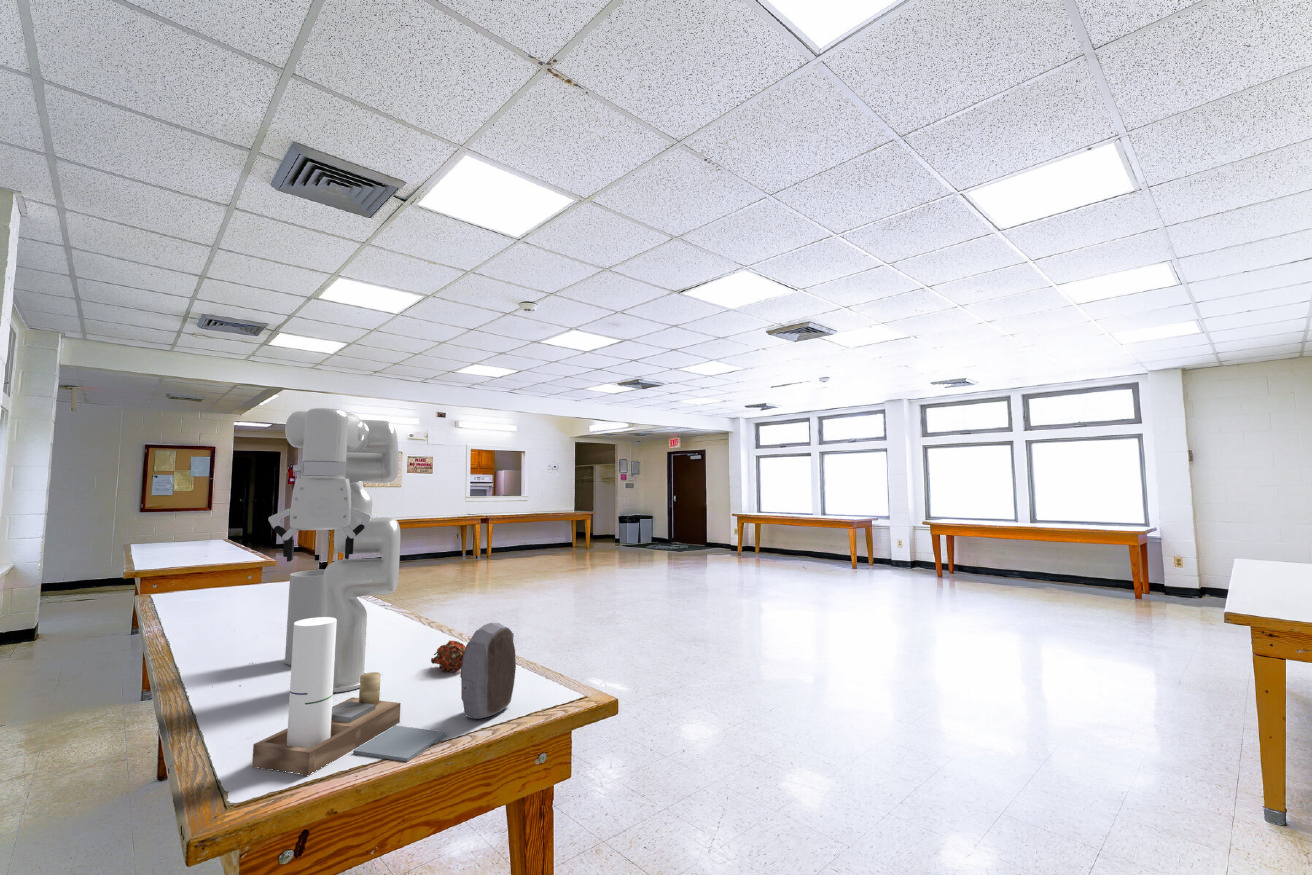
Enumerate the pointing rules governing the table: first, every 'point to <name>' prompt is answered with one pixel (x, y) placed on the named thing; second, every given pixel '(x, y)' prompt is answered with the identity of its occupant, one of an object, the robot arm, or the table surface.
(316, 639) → the cylindrical container
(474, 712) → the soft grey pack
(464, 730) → the table surface
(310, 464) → the robot arm
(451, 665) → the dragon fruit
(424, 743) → the mat
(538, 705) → the table surface
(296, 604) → the cylinder vase
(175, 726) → the table surface
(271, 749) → the wooden divided tray
